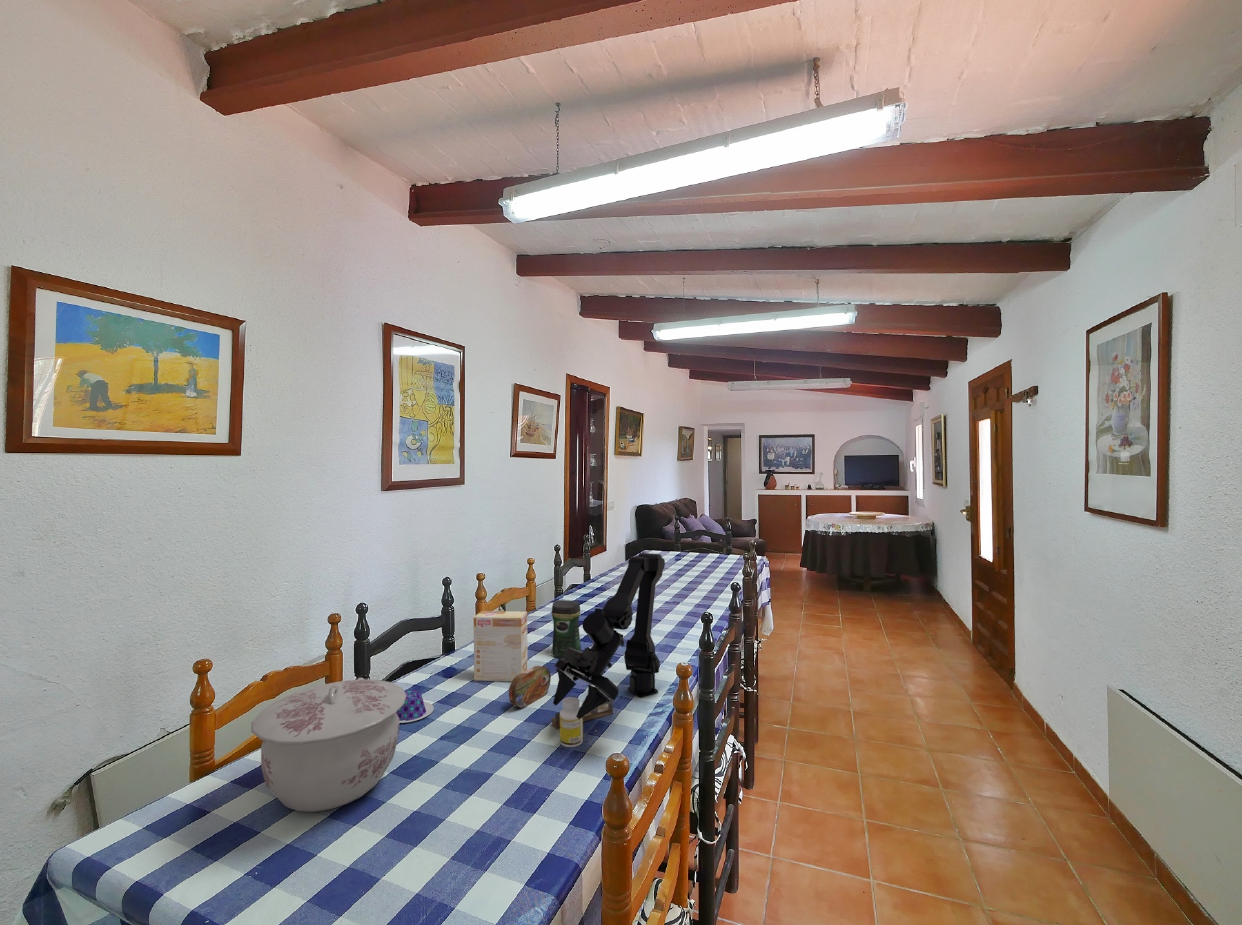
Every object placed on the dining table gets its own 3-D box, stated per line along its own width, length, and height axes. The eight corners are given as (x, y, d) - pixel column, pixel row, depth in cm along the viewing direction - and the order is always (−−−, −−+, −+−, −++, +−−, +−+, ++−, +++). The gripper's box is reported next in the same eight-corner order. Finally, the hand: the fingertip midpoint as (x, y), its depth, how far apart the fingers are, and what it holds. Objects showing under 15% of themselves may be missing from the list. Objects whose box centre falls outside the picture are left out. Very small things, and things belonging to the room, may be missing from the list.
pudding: (380, 711, 141) (380, 692, 141) (427, 700, 148) (426, 681, 148) (390, 730, 131) (389, 709, 131) (439, 717, 138) (439, 696, 138)
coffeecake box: (528, 673, 166) (527, 610, 166) (521, 682, 159) (521, 617, 159) (481, 671, 167) (481, 609, 167) (473, 680, 160) (473, 616, 160)
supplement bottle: (567, 734, 128) (567, 693, 128) (587, 739, 126) (586, 697, 126) (555, 744, 123) (555, 702, 123) (575, 750, 121) (575, 707, 121)
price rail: (607, 708, 141) (607, 695, 141) (613, 713, 138) (613, 699, 138) (551, 723, 133) (551, 709, 133) (556, 729, 130) (556, 714, 130)
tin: (515, 713, 139) (515, 680, 139) (506, 710, 141) (506, 678, 141) (551, 691, 152) (551, 662, 152) (543, 689, 154) (543, 660, 154)
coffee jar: (583, 652, 184) (583, 598, 184) (575, 660, 176) (575, 604, 176) (558, 649, 187) (557, 597, 187) (548, 657, 179) (548, 602, 179)
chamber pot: (298, 858, 88) (297, 734, 88) (223, 803, 103) (223, 696, 103) (437, 774, 112) (436, 676, 112) (360, 739, 126) (360, 652, 126)
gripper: (560, 625, 134) (523, 681, 127) (608, 643, 120) (569, 707, 113) (585, 649, 139) (550, 704, 132) (634, 669, 125) (598, 732, 118)
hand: (565, 710), depth 123 cm, fingers open, 9 cm apart
